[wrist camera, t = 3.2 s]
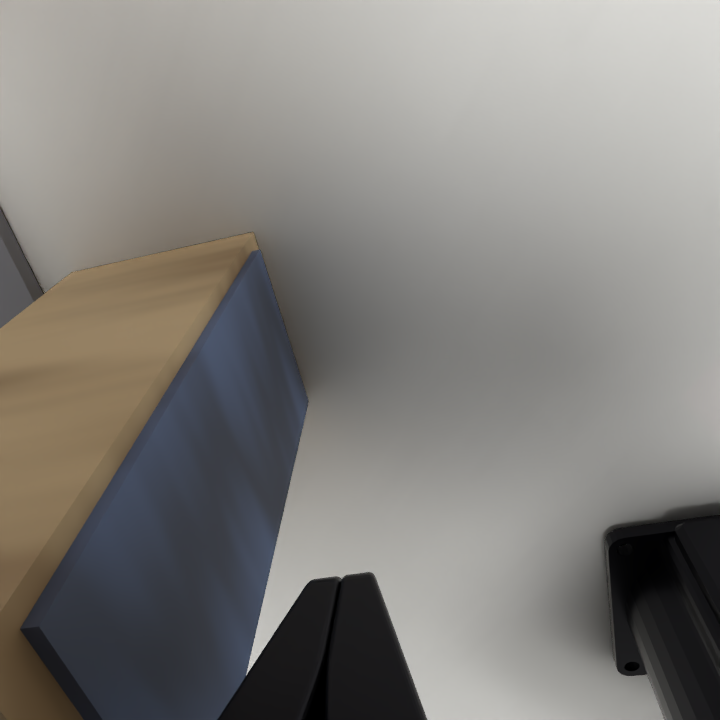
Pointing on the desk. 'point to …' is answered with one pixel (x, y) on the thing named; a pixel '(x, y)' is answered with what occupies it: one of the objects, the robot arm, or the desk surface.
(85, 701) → the oak block
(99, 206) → the desk surface
